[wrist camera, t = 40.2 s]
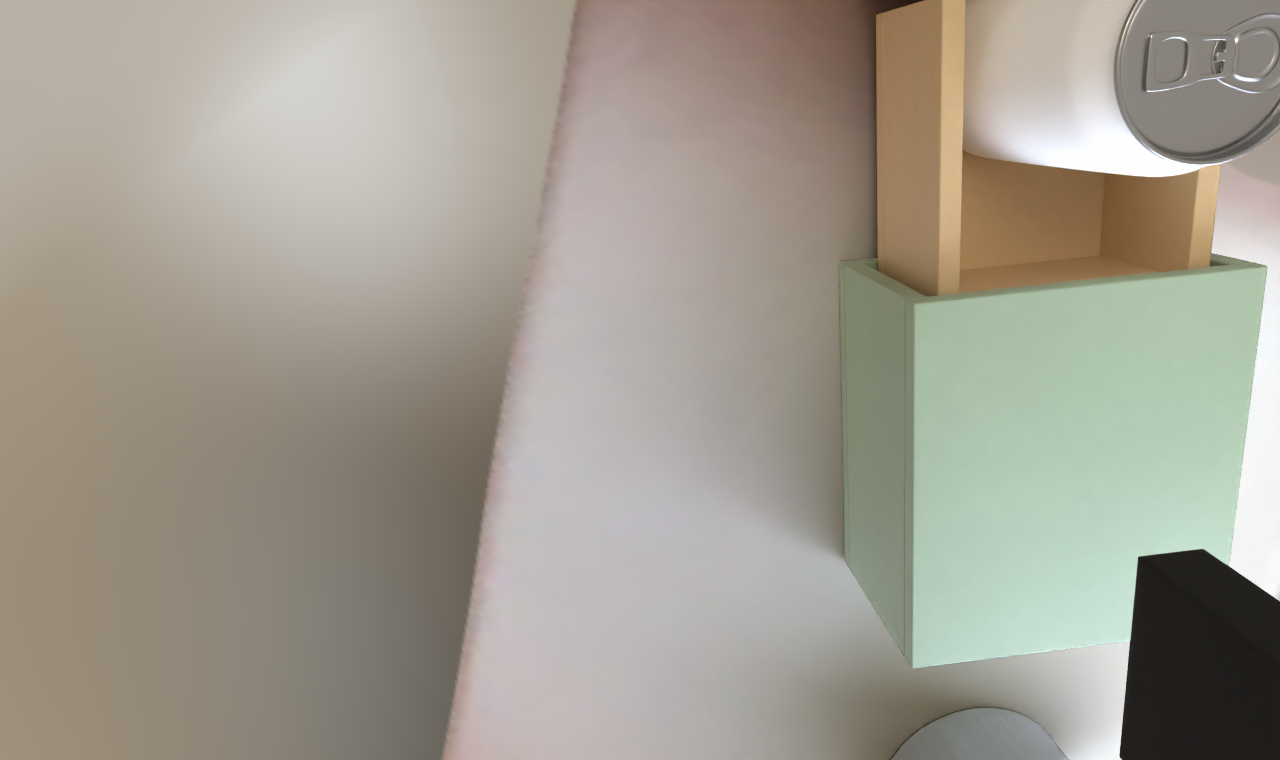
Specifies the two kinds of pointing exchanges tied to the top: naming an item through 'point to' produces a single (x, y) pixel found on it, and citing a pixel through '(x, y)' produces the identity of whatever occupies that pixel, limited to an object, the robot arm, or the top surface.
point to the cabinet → (1038, 448)
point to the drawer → (1006, 186)
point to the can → (1120, 82)
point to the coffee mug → (981, 738)
